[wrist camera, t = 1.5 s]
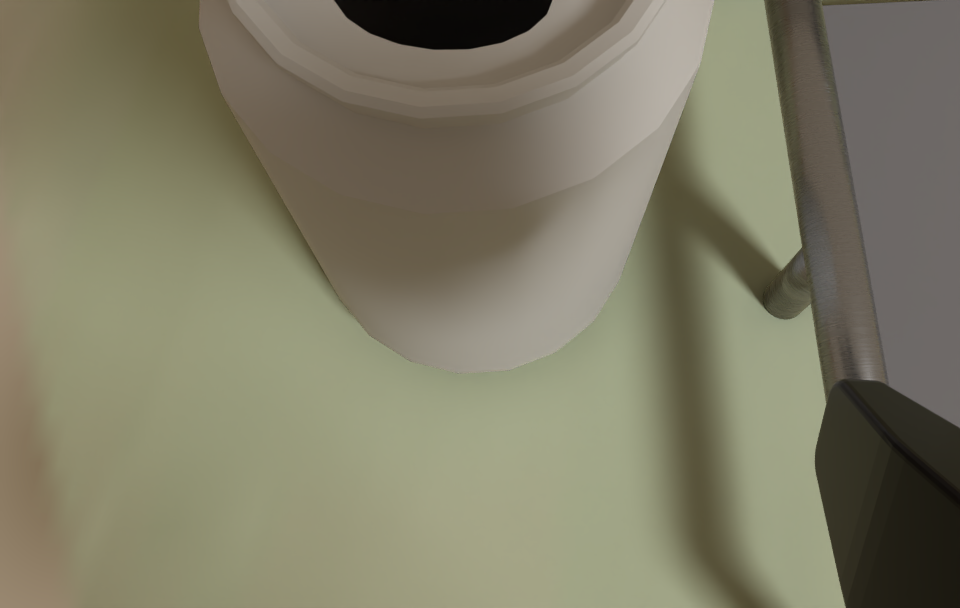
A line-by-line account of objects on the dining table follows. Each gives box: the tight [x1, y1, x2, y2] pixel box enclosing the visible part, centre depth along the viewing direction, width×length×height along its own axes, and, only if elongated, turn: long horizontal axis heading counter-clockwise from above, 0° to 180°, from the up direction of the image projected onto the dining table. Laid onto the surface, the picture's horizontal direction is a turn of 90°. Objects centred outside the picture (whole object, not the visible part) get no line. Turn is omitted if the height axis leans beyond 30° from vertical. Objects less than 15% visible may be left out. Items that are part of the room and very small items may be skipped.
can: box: [199, 0, 714, 373], centre depth 17 cm, size 8×8×12 cm
